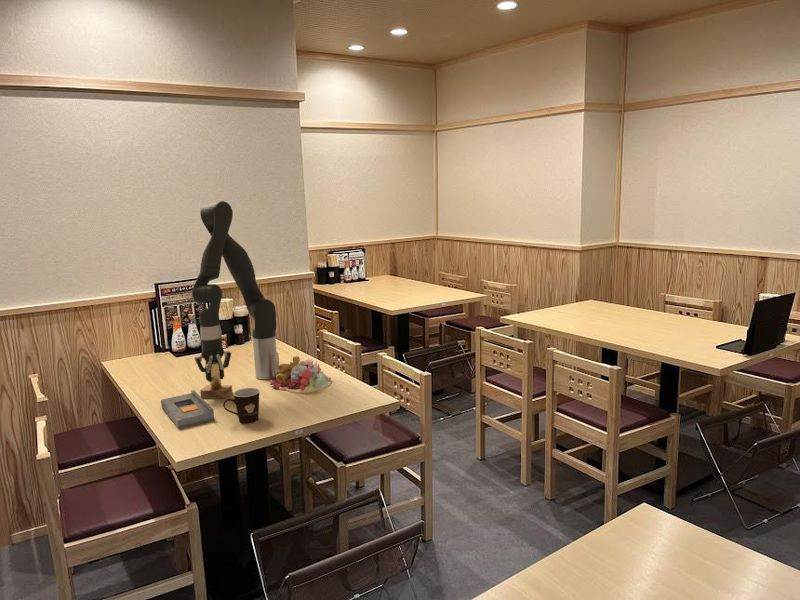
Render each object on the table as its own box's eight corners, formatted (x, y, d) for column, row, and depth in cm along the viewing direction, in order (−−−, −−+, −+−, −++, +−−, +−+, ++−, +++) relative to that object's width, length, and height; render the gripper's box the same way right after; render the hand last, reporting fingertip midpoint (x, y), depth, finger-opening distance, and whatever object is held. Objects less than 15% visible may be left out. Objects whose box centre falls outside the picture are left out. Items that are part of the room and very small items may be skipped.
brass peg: (223, 386, 232) (220, 361, 230) (218, 389, 228) (216, 364, 226) (213, 386, 233) (211, 361, 231) (208, 389, 229) (206, 364, 227)
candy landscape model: (259, 388, 239) (257, 365, 237) (295, 370, 259) (294, 350, 257) (310, 397, 227) (309, 373, 226) (344, 378, 248) (343, 356, 246)
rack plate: (214, 420, 207) (213, 409, 206) (178, 428, 201) (177, 417, 200) (194, 400, 227) (193, 390, 226) (161, 407, 220) (160, 397, 219)
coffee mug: (263, 414, 211) (261, 387, 209) (259, 424, 202) (256, 396, 200) (230, 416, 210) (227, 388, 208) (224, 426, 202) (221, 397, 200)
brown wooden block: (232, 392, 233) (231, 385, 233) (226, 398, 228) (225, 390, 227) (207, 392, 235) (207, 385, 234) (201, 397, 229) (200, 390, 228)
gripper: (226, 331, 233) (230, 373, 237) (189, 337, 226) (193, 381, 229) (233, 335, 227) (236, 378, 231) (194, 342, 220) (199, 386, 223)
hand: (215, 379), depth 230 cm, fingers closed on brass peg, 4 cm apart
